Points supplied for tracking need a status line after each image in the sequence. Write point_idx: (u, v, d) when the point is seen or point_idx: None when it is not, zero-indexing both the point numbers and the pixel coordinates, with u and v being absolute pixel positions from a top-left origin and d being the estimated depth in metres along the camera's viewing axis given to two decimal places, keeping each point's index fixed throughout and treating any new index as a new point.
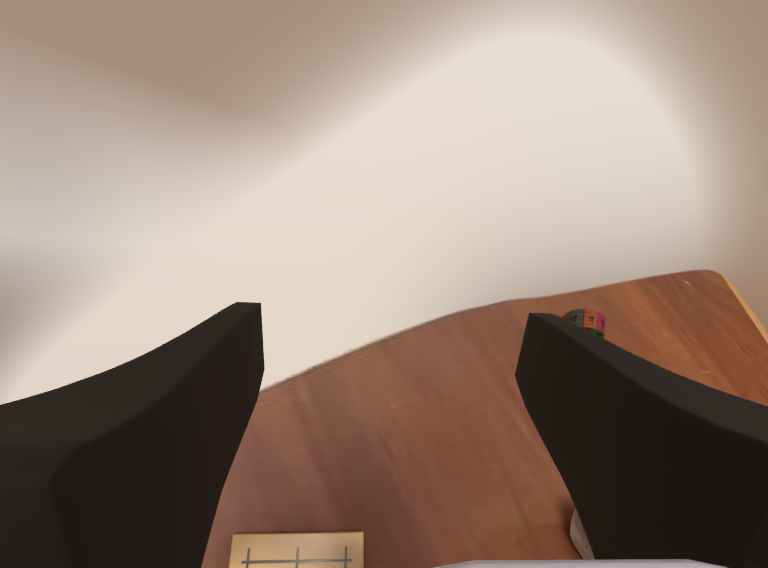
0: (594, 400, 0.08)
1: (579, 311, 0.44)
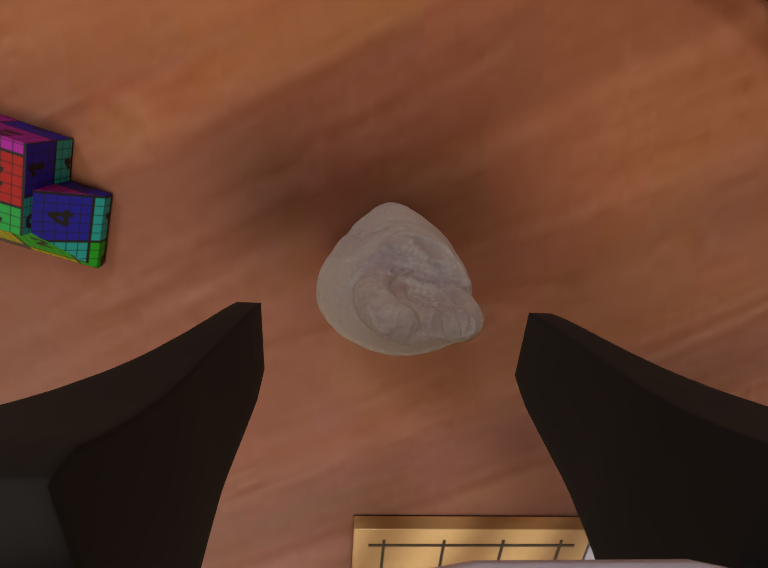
0: (594, 400, 0.08)
1: None
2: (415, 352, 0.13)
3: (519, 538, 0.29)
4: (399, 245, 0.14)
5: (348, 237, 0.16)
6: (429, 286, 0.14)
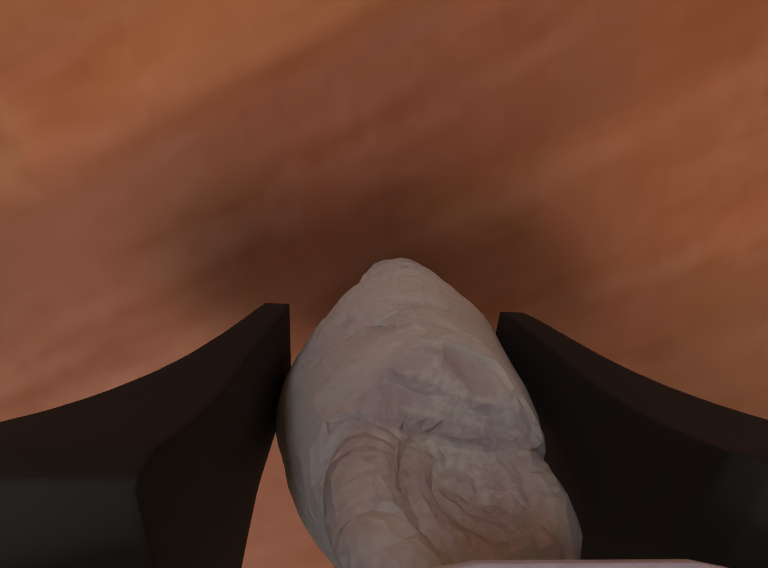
0: (556, 400, 0.08)
1: None
2: None
3: None
4: (415, 372, 0.08)
5: (329, 328, 0.10)
6: (471, 450, 0.08)
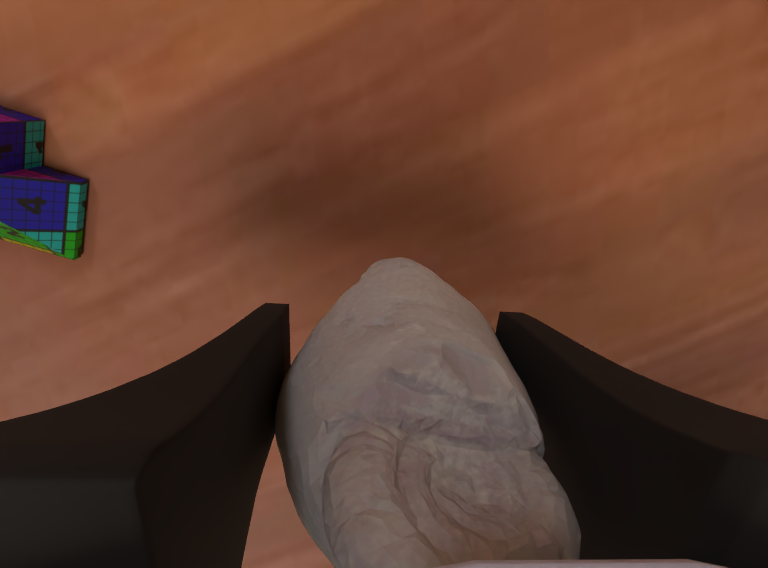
0: (555, 400, 0.08)
1: None
2: None
3: None
4: (414, 371, 0.08)
5: (329, 328, 0.10)
6: (470, 449, 0.08)
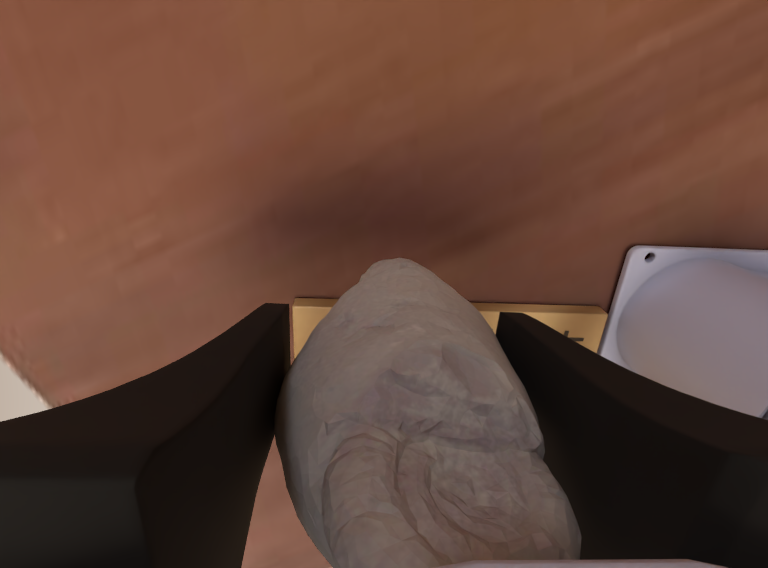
0: (555, 399, 0.08)
1: None
2: None
3: None
4: (414, 372, 0.08)
5: (328, 329, 0.10)
6: (470, 451, 0.08)
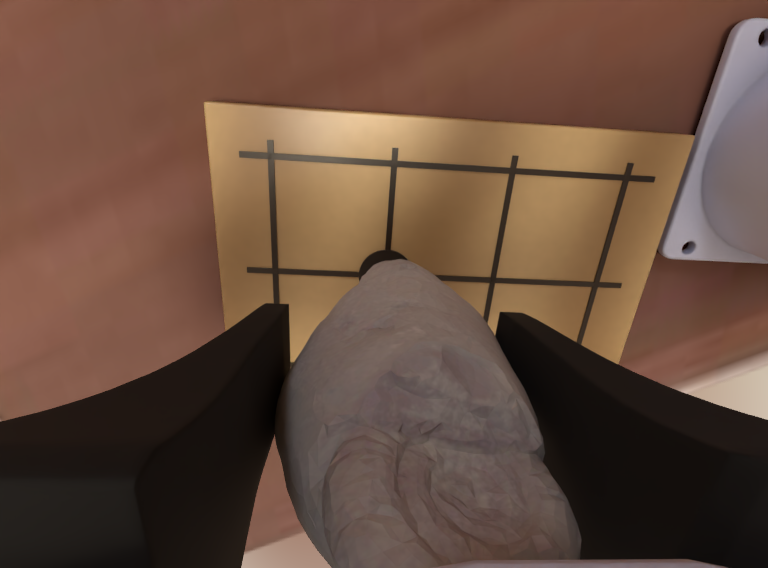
0: (556, 399, 0.08)
1: None
2: None
3: (547, 153, 0.14)
4: (414, 374, 0.08)
5: (328, 330, 0.10)
6: (470, 453, 0.08)
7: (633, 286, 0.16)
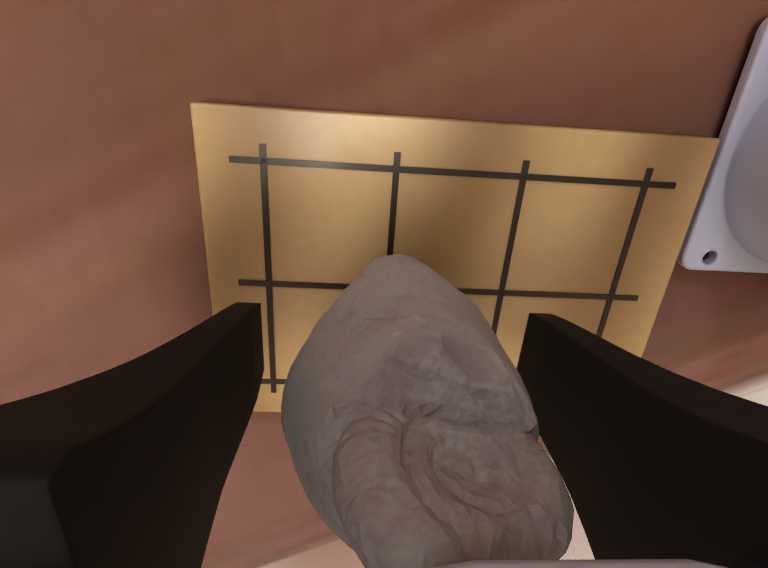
0: (595, 400, 0.08)
1: None
2: None
3: (561, 158, 0.13)
4: (416, 360, 0.08)
5: (332, 321, 0.10)
6: (469, 433, 0.08)
7: (650, 299, 0.15)
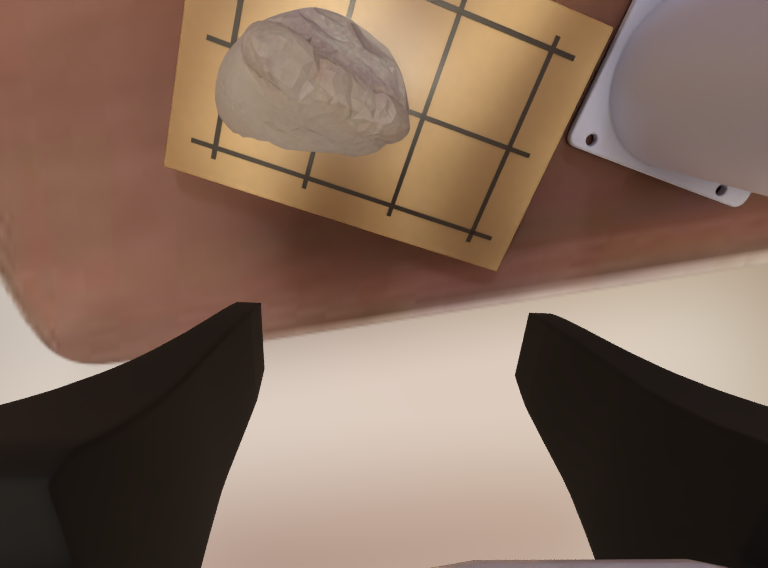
0: (594, 400, 0.08)
1: None
2: (311, 140, 0.10)
3: (492, 4, 0.16)
4: (328, 18, 0.11)
5: None
6: None
7: (539, 160, 0.19)
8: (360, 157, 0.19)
